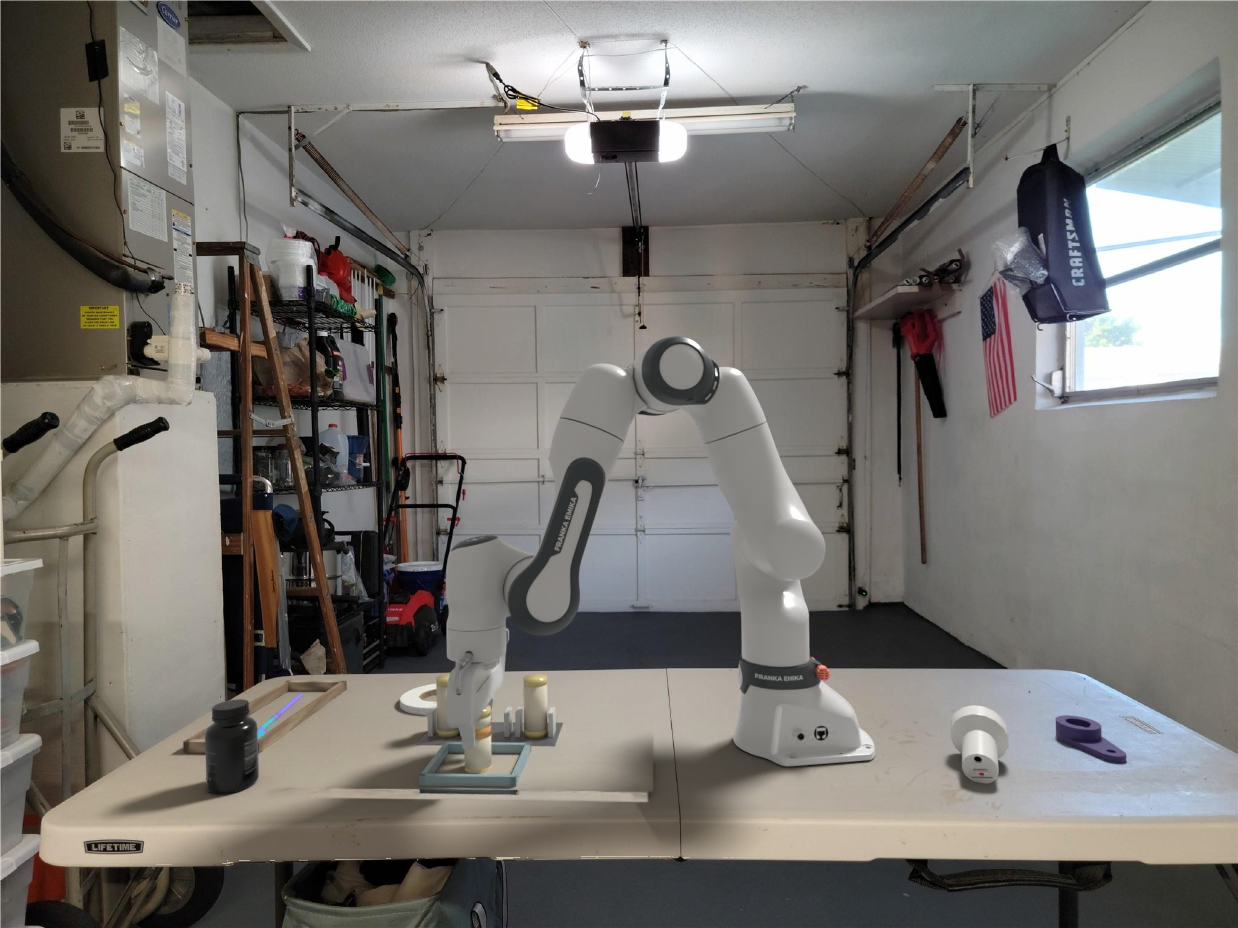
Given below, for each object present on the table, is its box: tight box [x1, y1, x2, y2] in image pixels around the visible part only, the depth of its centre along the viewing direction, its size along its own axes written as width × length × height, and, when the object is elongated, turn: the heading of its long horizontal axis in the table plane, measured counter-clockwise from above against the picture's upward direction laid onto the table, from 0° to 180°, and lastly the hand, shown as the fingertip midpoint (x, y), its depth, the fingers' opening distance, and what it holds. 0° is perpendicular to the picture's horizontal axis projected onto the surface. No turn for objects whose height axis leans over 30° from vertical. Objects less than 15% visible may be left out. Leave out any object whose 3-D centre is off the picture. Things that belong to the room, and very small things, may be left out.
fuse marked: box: [464, 705, 493, 774], centre depth 104 cm, size 4×4×10 cm
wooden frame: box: [182, 680, 348, 754], centre depth 130 cm, size 13×32×2 cm, turn 177°
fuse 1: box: [435, 673, 460, 738], centre depth 118 cm, size 4×4×10 cm
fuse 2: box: [522, 673, 548, 738], centre depth 117 cm, size 4×4×10 cm
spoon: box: [257, 693, 304, 739], centre depth 129 cm, size 25×4×1 cm, turn 3°
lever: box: [1055, 714, 1127, 764], centre depth 111 cm, size 12×6×3 cm, turn 4°
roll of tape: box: [399, 683, 437, 717], centre depth 134 cm, size 16×15×3 cm
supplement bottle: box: [204, 698, 260, 795], centre depth 102 cm, size 7×7×12 cm
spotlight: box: [950, 704, 1010, 784], centre depth 104 cm, size 8×11×8 cm
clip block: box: [415, 706, 564, 747], centre depth 117 cm, size 23×10×5 cm, turn 87°
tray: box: [418, 742, 532, 796], centre depth 104 cm, size 14×12×2 cm
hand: (478, 734), depth 104 cm, fingers open, 8 cm apart
